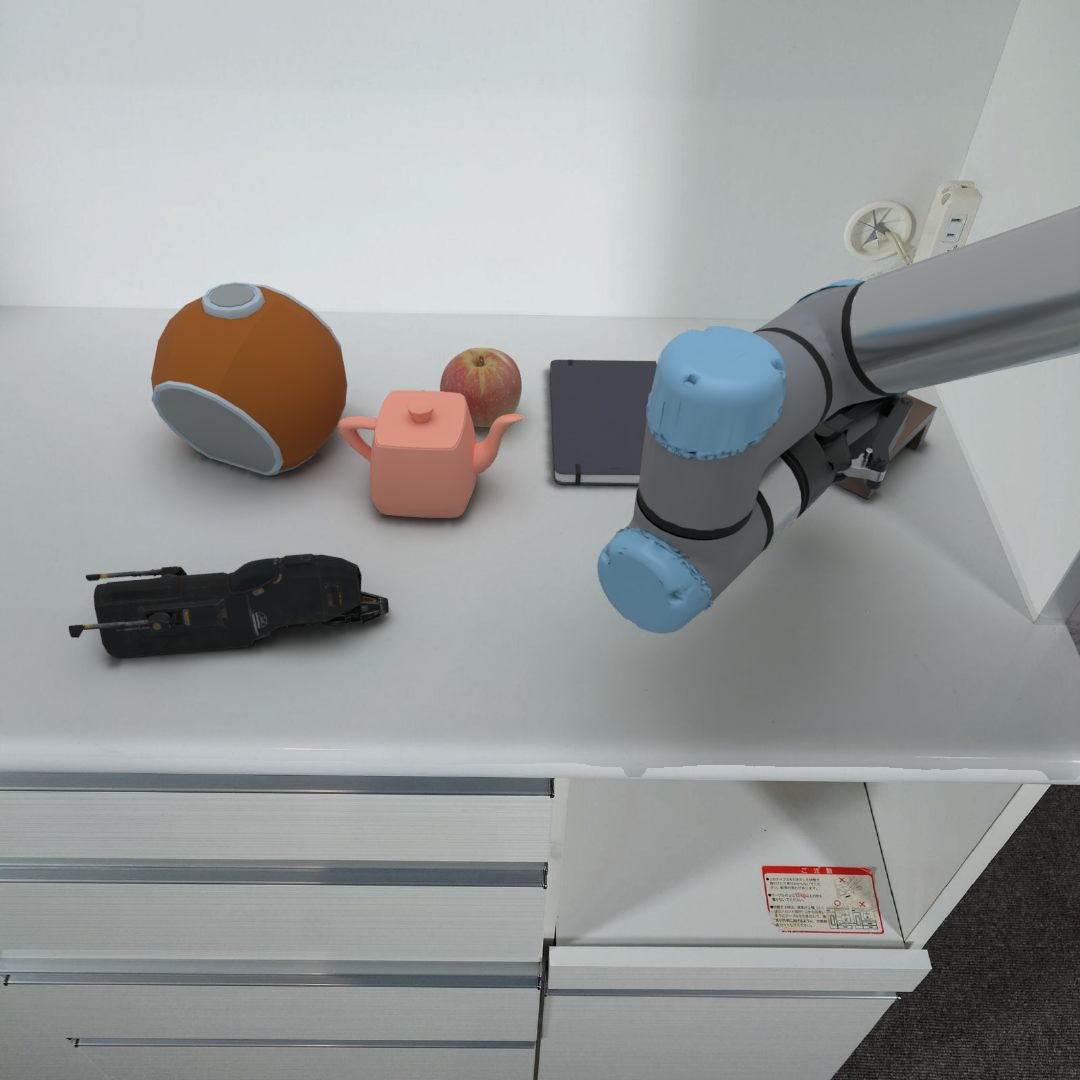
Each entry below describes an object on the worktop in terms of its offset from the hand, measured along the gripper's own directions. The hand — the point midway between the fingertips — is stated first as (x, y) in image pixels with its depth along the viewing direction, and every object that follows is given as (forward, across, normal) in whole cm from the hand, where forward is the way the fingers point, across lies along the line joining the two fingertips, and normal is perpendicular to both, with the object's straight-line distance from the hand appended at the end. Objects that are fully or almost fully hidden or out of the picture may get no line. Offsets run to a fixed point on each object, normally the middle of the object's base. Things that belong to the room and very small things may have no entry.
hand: (900, 358), depth 81 cm
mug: (-6, -2, -6) cm, 9 cm away
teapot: (-26, -33, -18) cm, 46 cm away
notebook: (-5, -27, -18) cm, 33 cm away
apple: (-14, -38, -18) cm, 44 cm away
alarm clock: (-33, -52, -18) cm, 64 cm away
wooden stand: (+9, -7, -18) cm, 21 cm away
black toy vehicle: (-51, -32, -18) cm, 62 cm away
